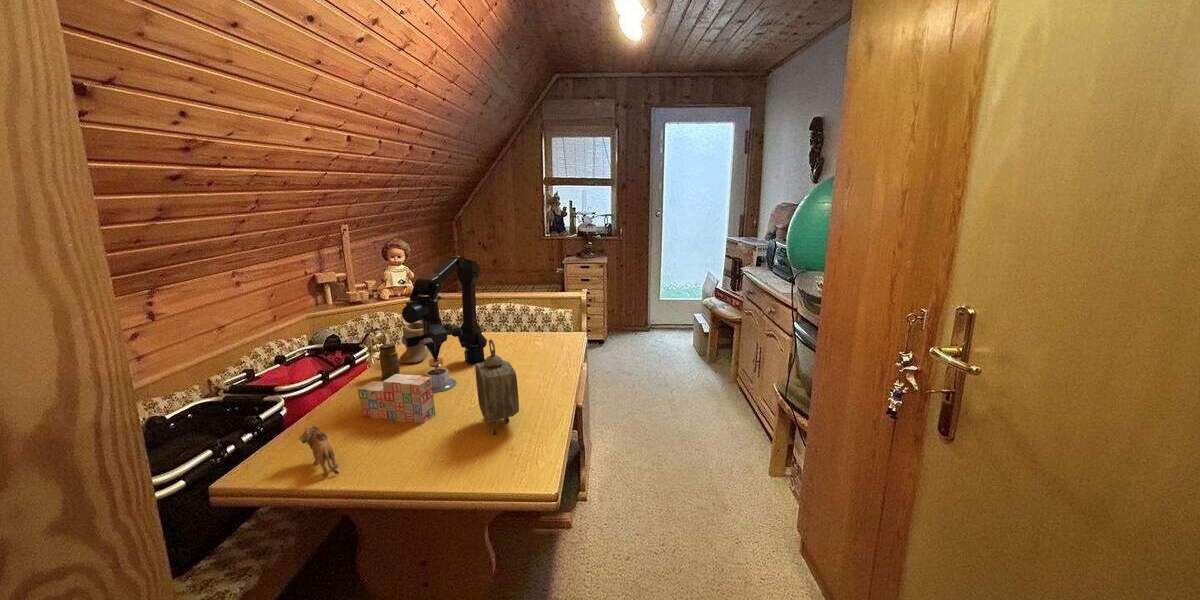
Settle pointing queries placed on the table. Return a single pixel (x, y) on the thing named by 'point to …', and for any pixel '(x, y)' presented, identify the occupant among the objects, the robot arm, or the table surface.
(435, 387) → the carafe
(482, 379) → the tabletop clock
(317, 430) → the lion figurine
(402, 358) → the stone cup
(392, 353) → the condiment
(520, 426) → the table surface
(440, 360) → the plunger
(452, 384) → the coaster
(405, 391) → the stack of blocks
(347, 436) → the table surface
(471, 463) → the table surface
